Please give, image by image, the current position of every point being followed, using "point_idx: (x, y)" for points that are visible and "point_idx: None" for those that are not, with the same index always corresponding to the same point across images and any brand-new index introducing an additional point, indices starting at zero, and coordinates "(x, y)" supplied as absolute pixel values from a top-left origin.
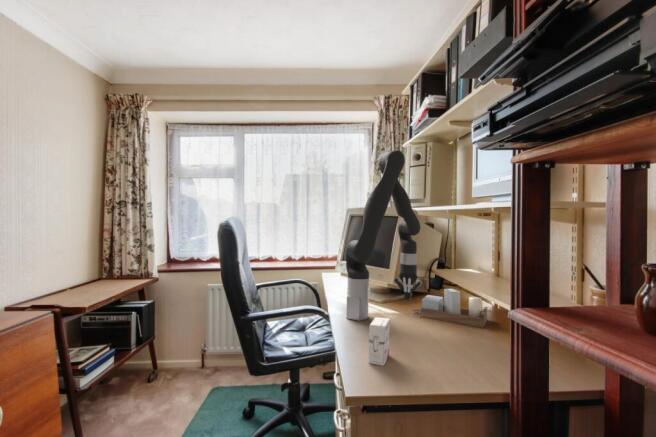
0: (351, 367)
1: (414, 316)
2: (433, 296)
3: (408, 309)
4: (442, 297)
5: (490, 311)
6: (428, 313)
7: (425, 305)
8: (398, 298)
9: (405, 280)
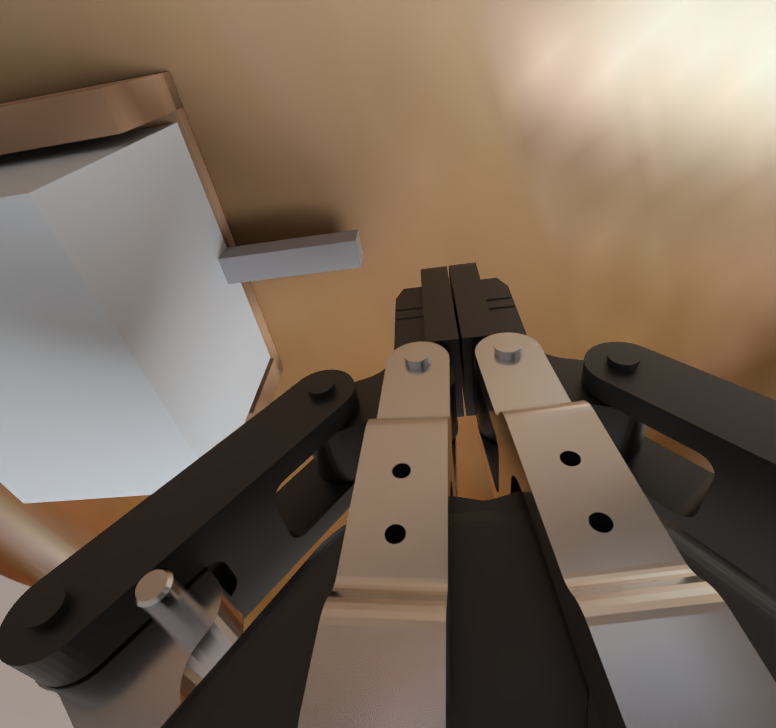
0: None
1: (255, 59)
2: (109, 469)
3: None
4: (12, 489)
5: (41, 567)
6: (21, 101)
7: (40, 170)
8: None
9: (586, 616)
